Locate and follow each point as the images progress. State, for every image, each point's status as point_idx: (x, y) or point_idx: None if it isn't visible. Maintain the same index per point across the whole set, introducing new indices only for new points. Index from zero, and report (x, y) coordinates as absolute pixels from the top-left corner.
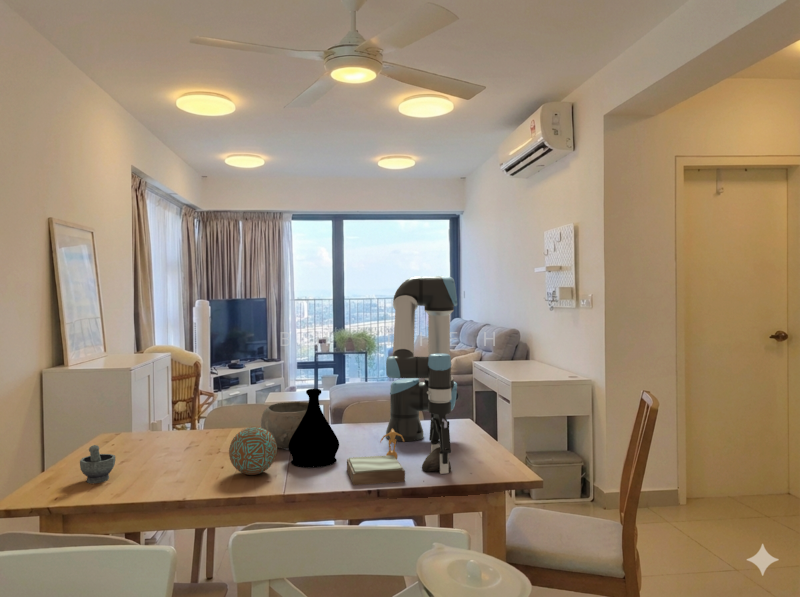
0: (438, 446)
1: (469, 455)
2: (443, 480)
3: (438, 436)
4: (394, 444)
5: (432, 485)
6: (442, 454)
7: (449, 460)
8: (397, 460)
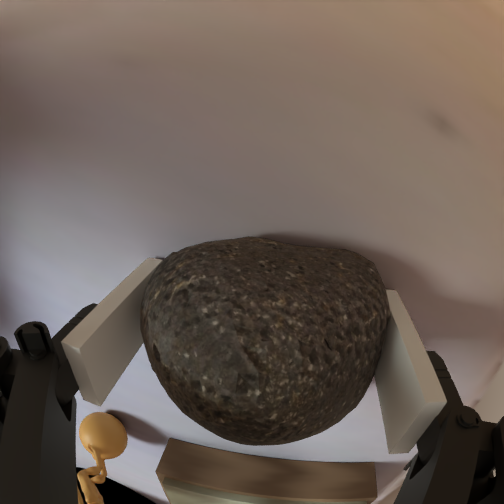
0: (92, 347)
1: (48, 9)
2: (464, 349)
3: (48, 443)
4: (88, 477)
5: (474, 400)
6: (415, 433)
7: (348, 295)
8: (224, 488)
